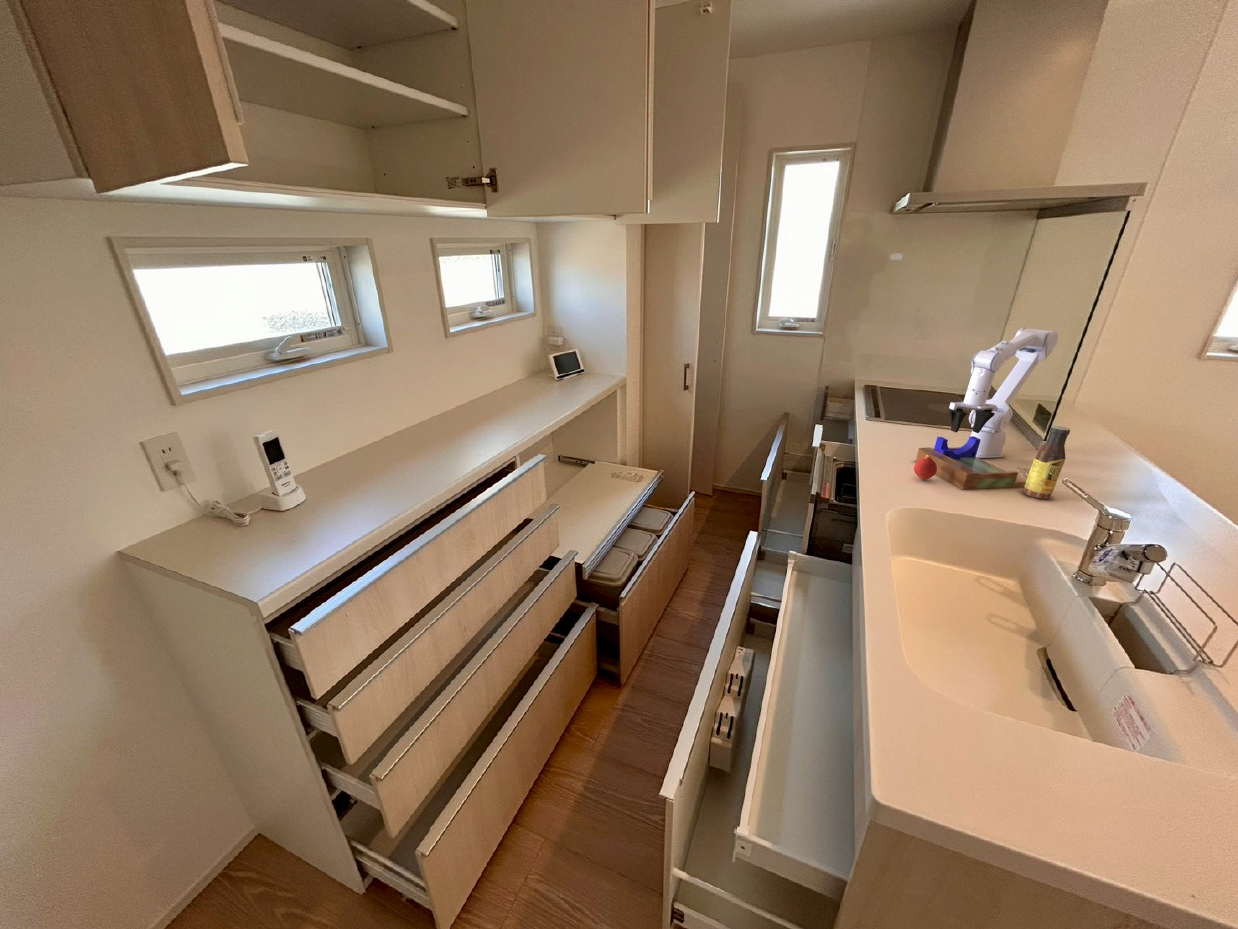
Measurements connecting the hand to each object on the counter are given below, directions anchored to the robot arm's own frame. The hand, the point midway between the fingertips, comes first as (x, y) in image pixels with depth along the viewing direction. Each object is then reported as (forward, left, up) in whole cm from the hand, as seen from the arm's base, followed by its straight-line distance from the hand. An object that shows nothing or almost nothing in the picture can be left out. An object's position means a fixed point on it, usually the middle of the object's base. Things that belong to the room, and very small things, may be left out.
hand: (964, 431), depth 160 cm
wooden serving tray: (+4, +10, -10) cm, 15 cm away
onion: (+21, +13, -10) cm, 27 cm away
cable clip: (+4, +4, -7) cm, 9 cm away
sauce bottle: (-4, +26, -10) cm, 28 cm away
